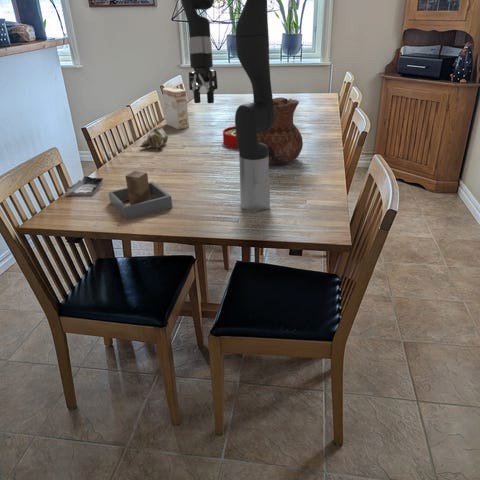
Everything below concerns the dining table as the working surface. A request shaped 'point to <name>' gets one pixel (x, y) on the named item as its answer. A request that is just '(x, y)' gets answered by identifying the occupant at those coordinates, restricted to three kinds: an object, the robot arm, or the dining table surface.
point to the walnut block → (138, 187)
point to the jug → (282, 134)
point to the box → (143, 207)
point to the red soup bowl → (230, 137)
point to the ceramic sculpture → (155, 139)
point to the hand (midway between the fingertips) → (204, 103)
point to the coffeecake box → (176, 107)
